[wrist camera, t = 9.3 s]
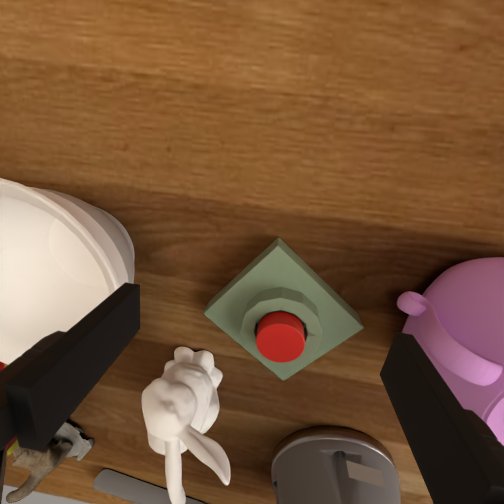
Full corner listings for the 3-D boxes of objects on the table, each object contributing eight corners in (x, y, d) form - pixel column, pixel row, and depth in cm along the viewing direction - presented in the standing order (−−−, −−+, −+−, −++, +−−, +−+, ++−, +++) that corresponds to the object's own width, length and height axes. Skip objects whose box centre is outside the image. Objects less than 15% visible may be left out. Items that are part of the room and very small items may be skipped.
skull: (104, 431, 40) (76, 473, 34) (67, 475, 42) (35, 521, 37) (44, 392, 39) (4, 428, 33) (10, 440, 41) (-32, 481, 36)
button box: (358, 313, 27) (369, 341, 23) (283, 365, 30) (283, 396, 26) (278, 236, 25) (277, 253, 21) (208, 301, 28) (196, 325, 24)
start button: (313, 332, 24) (315, 346, 22) (280, 355, 25) (279, 370, 24) (281, 302, 23) (280, 315, 21) (248, 328, 24) (245, 341, 23)
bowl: (167, 327, 30) (125, 394, 22) (29, 299, 31) (-59, 354, 23) (173, 180, 24) (118, 200, 16) (1, 149, 25) (-134, 154, 17)
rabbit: (173, 325, 30) (107, 434, 19) (255, 353, 30) (237, 478, 19) (154, 398, 35) (92, 520, 23) (224, 422, 35) (196, 554, 24)
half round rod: (101, 465, 41) (93, 479, 40) (222, 508, 42) (220, 523, 40) (98, 480, 43) (90, 494, 41) (214, 521, 44) (211, 536, 42)
